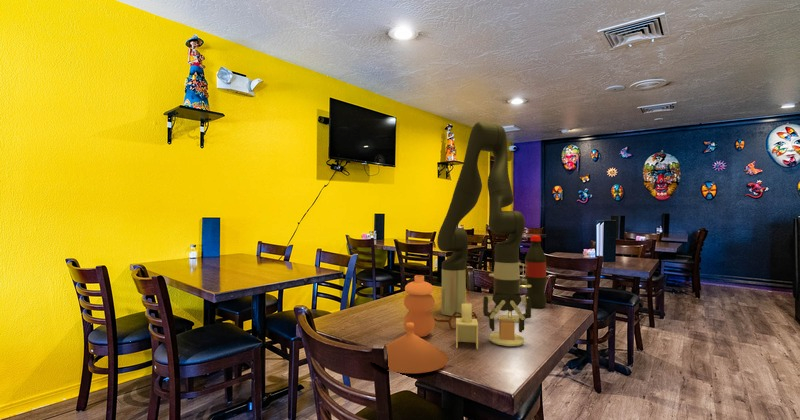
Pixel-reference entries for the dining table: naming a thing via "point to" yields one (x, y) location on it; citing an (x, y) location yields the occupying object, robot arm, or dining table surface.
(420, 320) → the ceramic vessels
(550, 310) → the dining table surface
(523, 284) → the balance
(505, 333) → the block
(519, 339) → the dish
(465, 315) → the hood
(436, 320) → the glasses
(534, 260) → the cola bottle
